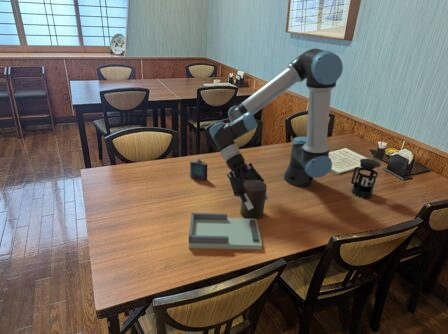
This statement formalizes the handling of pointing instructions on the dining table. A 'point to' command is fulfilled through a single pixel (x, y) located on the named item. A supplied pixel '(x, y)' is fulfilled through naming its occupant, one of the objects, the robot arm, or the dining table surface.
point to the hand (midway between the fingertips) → (258, 204)
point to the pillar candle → (254, 199)
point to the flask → (198, 170)
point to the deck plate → (223, 232)
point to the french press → (363, 182)
